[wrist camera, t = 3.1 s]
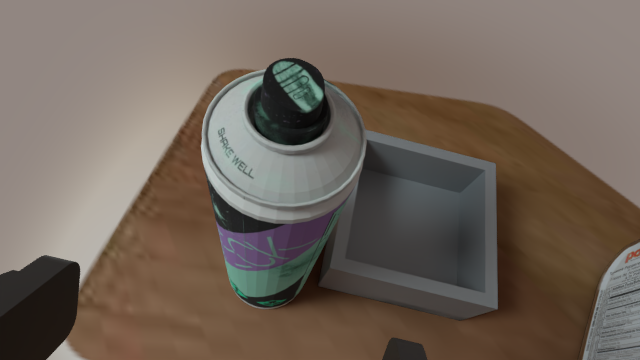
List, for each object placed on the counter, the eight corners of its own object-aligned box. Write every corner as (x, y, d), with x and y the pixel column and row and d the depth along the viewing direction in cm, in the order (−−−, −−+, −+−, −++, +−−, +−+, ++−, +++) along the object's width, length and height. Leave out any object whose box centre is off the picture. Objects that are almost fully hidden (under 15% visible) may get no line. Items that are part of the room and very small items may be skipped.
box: (463, 192, 34) (495, 163, 29) (460, 320, 29) (497, 309, 24) (343, 161, 33) (356, 127, 29) (317, 286, 28) (329, 268, 24)
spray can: (245, 223, 29) (235, -14, 12) (315, 246, 29) (408, 43, 12) (216, 295, 27) (146, 126, 9) (292, 320, 27) (369, 200, 9)
